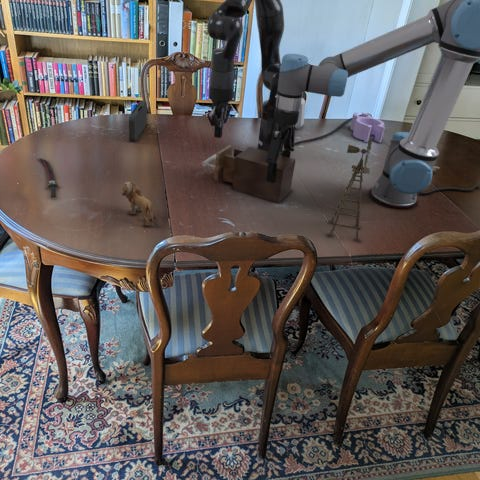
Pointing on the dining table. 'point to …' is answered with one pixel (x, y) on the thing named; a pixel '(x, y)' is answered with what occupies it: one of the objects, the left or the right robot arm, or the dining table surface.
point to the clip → (367, 127)
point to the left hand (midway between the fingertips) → (218, 137)
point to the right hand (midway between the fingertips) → (277, 175)
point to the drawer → (223, 163)
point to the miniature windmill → (356, 171)
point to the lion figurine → (137, 201)
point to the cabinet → (262, 175)
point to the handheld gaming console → (137, 120)
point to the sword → (52, 181)
